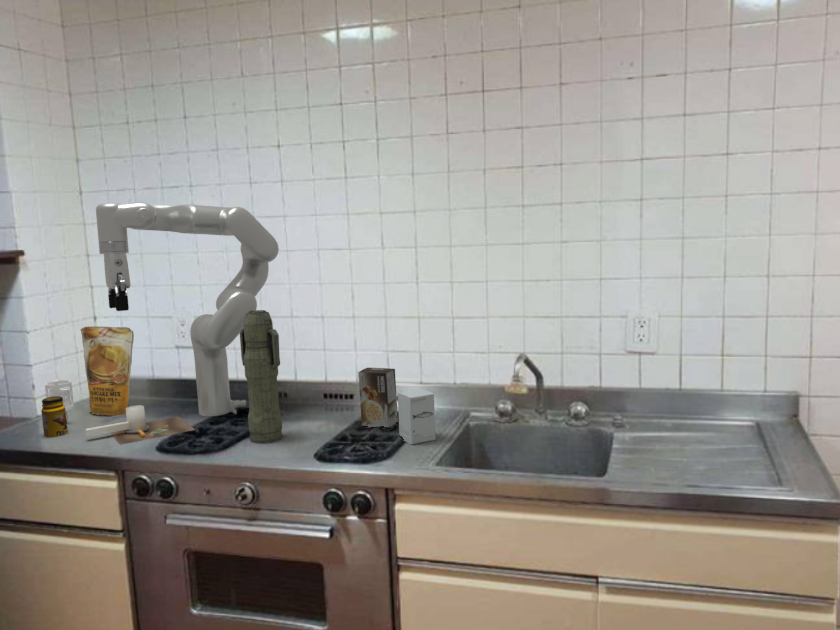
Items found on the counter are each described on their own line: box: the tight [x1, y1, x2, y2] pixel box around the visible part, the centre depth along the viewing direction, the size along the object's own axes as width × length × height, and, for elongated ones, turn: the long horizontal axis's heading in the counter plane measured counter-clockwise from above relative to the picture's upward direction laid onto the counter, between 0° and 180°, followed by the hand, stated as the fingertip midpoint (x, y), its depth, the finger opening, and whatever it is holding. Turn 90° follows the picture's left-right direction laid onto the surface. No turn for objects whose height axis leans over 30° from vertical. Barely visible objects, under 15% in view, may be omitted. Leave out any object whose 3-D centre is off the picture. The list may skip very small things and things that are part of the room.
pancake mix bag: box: [80, 326, 135, 417], centre depth 226 cm, size 7×19×28 cm, turn 69°
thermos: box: [239, 309, 283, 444], centre depth 192 cm, size 9×12×35 cm
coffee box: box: [357, 367, 399, 428], centre depth 201 cm, size 9×6×16 cm
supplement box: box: [397, 388, 436, 446], centre depth 187 cm, size 7×7×13 cm
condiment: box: [40, 396, 69, 438], centre depth 201 cm, size 7×8×12 cm
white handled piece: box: [85, 404, 149, 437], centre depth 196 cm, size 16×11×7 cm
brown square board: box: [110, 416, 196, 445], centre depth 202 cm, size 20×18×2 cm
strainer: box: [44, 378, 75, 425], centre depth 212 cm, size 7×7×15 cm
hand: (118, 309), depth 200 cm, fingers open, 9 cm apart
